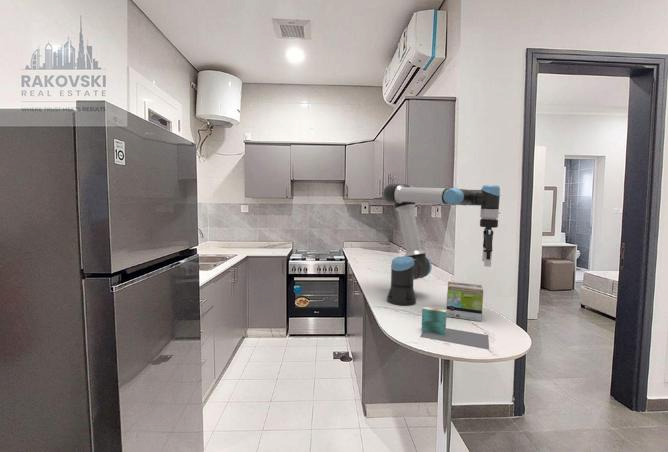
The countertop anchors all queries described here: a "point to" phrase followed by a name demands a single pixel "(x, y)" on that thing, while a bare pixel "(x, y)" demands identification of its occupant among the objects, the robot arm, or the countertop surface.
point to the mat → (460, 338)
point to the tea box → (464, 301)
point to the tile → (434, 320)
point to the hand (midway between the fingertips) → (486, 263)
